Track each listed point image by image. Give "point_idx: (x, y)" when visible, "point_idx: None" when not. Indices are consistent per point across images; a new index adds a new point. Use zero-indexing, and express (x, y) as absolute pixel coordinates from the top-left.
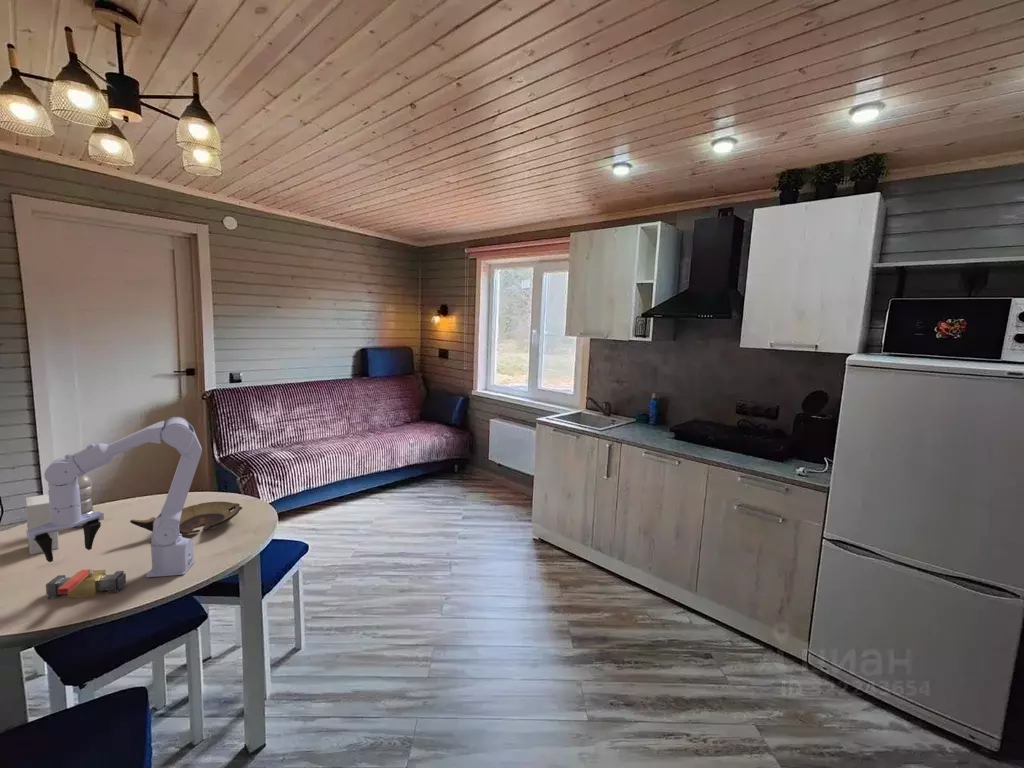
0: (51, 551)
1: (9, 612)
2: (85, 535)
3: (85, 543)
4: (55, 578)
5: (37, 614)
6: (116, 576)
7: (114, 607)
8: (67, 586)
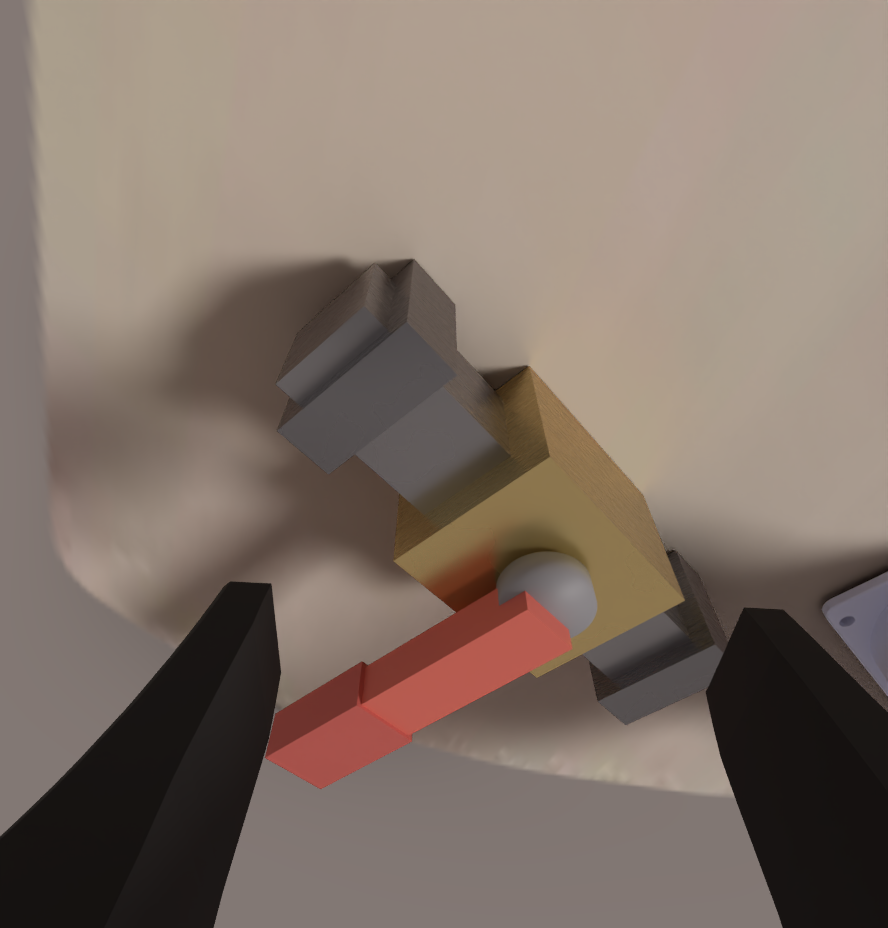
0: (220, 877)
1: (49, 335)
2: (876, 859)
3: (776, 693)
4: (365, 376)
5: (204, 517)
6: (652, 707)
7: (504, 734)
8: (326, 768)
